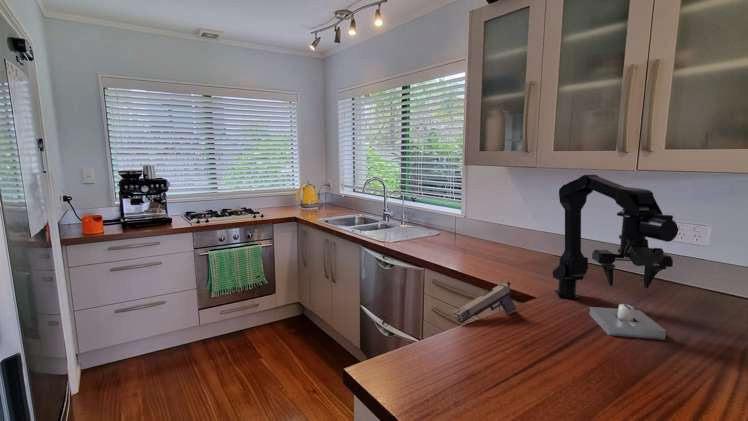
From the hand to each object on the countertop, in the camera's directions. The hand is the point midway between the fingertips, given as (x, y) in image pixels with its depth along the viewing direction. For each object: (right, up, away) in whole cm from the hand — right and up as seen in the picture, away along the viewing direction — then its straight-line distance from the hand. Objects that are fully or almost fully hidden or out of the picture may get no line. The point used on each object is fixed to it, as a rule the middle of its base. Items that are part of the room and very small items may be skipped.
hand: (628, 286), depth 109 cm
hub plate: (0, -12, +1) cm, 12 cm away
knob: (0, -12, +1) cm, 12 cm away
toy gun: (-39, -11, +8) cm, 41 cm away
